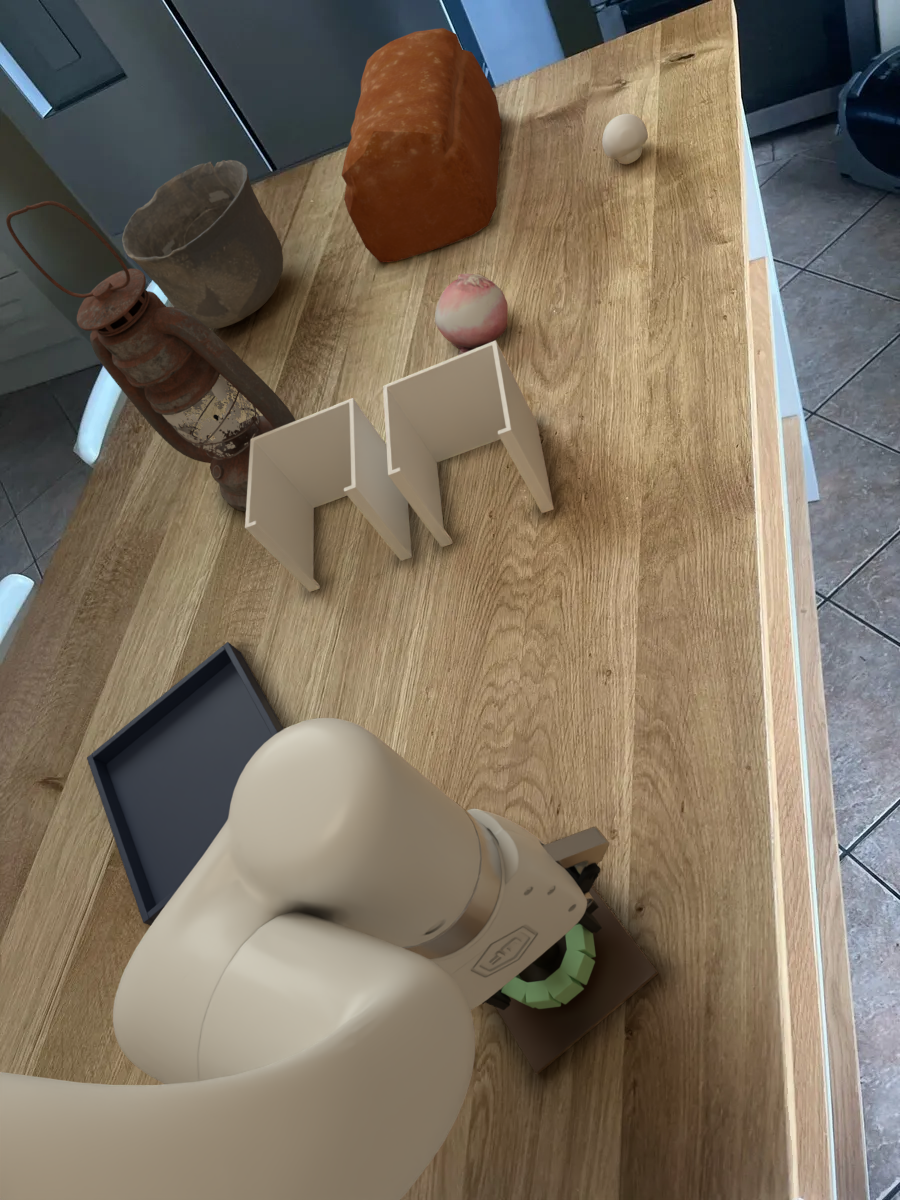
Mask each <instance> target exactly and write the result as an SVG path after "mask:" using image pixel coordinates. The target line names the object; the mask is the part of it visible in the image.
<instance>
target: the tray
mask: <svg viewBox="0 0 900 1200" xmlns="http://www.w3.org/2000/svg"><path fill="white" fill-rule="evenodd" d="M283 729H285V728H284V727H283V725H282V723H281V721H280V720H279V718H278V715H277V714H276V712H275V711H274V709H273V707H272V705H271V703H270V701H269V700H268V698H267V696H266V695H265V693H264V691H263V689H262V687H261V685H260V683H259V681H258V680H257V678H256V676H255V675H254V673H253V671H252V669H251V668H250V666H249V664H248V662H247V660H246V659H245V656H244V655H243V653H242V651H241V650H239V649H238V648H236V647H235V646H234V645H233V644H231V643H230V642H228V641H226V642H225V643H224V644H223V645H222V646H220V647H218V649H216V651H214V652H213V653H212V654H211V655H209V656H208V657H207V658H206V659H205V660H203V661H202V662H201V663H199V664H198V665H197V666H196V667H195V668H193V669H192V670H191V671H190V672H189V673H188V674H186V675H185V676H184V677H182V678H181V679H180V680H179V681H178V682H176V683H175V684H174V685H173V686H172V687H170V688H169V689H168V690H167V691H165V692H164V693H163V694H162V695H161V696H159V698H157V699H156V700H155V701H153V703H151V704H150V705H149V706H147V707H146V708H145V709H144V710H143V711H141V712H140V713H139V714H137V715H136V716H135V717H134V718H133V719H132V720H130V721H129V722H128V723H127V724H125V726H123V727H122V728H121V729H120V730H118V731H117V732H116V733H114V734H113V735H111V737H110V738H108V739H107V740H105V741H104V743H102V744H101V745H100V746H98V748H96V749H95V750H94V751H93V752H91V754H89V755H88V756H87V757H86V760H87V763H88V765H89V769H90V771H91V774H92V777H93V780H94V784H95V786H96V790H97V792H98V795H99V797H100V800H101V804H102V807H103V810H104V812H105V815H106V818H107V821H108V824H109V828H110V830H111V833H112V836H113V838H114V842H115V844H116V845H115V846H116V847H117V850H118V854H119V856H120V859H121V862H122V865H123V868H124V870H125V873H126V874H125V875H126V877H127V879H128V882H129V885H130V888H131V891H132V894H133V897H134V900H135V903H136V906H137V908H138V912H139V915H140V917H141V920H142V924H145V925H147V926H149V927H150V926H151V925H152V923H153V922H154V920H155V919H156V918H157V916H158V915H159V914H160V912H161V911H162V909H163V908H164V907H165V905H166V904H167V903H168V901H169V900H170V899H171V897H172V896H173V895H174V893H175V892H176V891H177V889H178V888H179V887H180V885H181V884H182V883H183V881H184V880H185V879H186V877H187V876H188V875H189V873H190V872H191V871H192V869H193V868H194V867H195V865H196V864H197V863H198V862H199V860H200V859H201V858H202V856H203V855H204V853H205V852H206V850H207V849H208V848H209V846H210V845H211V843H212V842H213V840H214V839H215V837H216V836H217V835H218V833H219V832H220V830H221V829H222V827H223V826H224V824H225V823H226V822H227V820H228V817H229V811H230V804H231V800H232V796H233V792H234V789H235V787H236V784H237V782H238V779H239V777H240V775H241V773H242V771H243V770H244V768H245V766H246V764H247V763H248V762H249V760H250V759H251V758H252V756H253V755H254V754H255V752H256V751H257V750H258V749H259V748H260V747H261V746H262V745H263V744H264V743H265V742H266V741H268V740H269V739H270V738H271V737H273V736H274V735H275V734H277V733H278V732H280V731H282V730H283Z"/></svg>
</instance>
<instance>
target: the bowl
mask: <svg viewBox="0 0 900 1200" xmlns="http://www.w3.org/2000/svg"><path fill="white" fill-rule="evenodd" d="M121 237H122V238H121V241H122V246H123V250H124V252H125V254H126V255H127V256H128V257H129V258H130V259H131V260H132V261H134V262H135V263H136V265H138V266H139V267H140V268H141V269H142V271H144V273H145V274H146V275H147V276H148V277H149V278H150V280H151V281H153V283H154V284H155V285H156V286H157V287H158V288H159V289H160V290H161V292H162V293H163V295H164V296H165V297H166V299H167V300H168V301H169V302H170V304H171V305H172V307H175V308H179V309H182V310H184V311H186V312H188V313H190V314H191V315H193V316H194V317H196V318H197V319H198V320H200V321H201V322H202V323H203V324H205V325H206V326H207V327H208V328H209V329H222V328H225V327H229V326H231V325H235V324H236V323H239V322H241V321H243V320H244V319H245V318H247V317H248V316H250V315H252V314H254V313H255V312H256V311H258V310H260V309H261V308H262V307H263V306H264V305H265V304H266V303H267V302H268V301H269V300H270V298H271V297H272V296H273V294H274V293H275V292H276V289H277V288H278V285H279V282H280V280H281V277H282V274H283V271H284V256H283V247H282V244H281V241H280V239H279V237H278V234H277V232H276V231H275V229H274V226H273V224H272V223H271V220H269V218H268V216H267V215H266V213H265V212H264V210H263V208H262V206H261V204H260V201H259V199H258V197H257V195H256V194H255V191H254V188H253V187H252V184H251V181H250V176H249V172H248V168H247V166H246V165H245V164H243V163H242V162H240V161H239V160H236V159H235V160H232V159H227V160H225V159H222V160H221V161H217V162H216V163H215V165H213V163H212V161H208V162H207V163H200V164H196V165H194V166H193V167H190V168H188V169H186V170H185V171H183V172H180V173H179V174H177V175H175V176H173V177H172V178H171V179H169V180H168V181H166V182H165V183H163V184H162V185H161V186H159V187H158V188H157V189H156V190H155V192H154V194H153V196H152V198H151V199H150V200H149V201H148V202H147V203H145V204H144V205H142V207H138V208H137V209H136V210H135V212H133V214H132V215H131V216H130V218H129V220H128V221H127V223H126V225H125V227H124V229H123V233H122V236H121Z"/></svg>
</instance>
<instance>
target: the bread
mask: <svg viewBox="0 0 900 1200" xmlns="http://www.w3.org/2000/svg"><path fill="white" fill-rule="evenodd" d="M459 39H460V38H459V37H458V34H457V33H455V32H454V31H451V30H449V29H447V28H444V27H439V28H433V29H426V30H418V31H413V32H411V33H408V34H406V35H403V36H401V37H399V38H396V39H394V40H391V41H389V42H388V43H386V44H385V45H382V47H380V48H379V49H377V50H376V51H375V52H373V53H372V55H371V56H370V57H368V59H367V60H366V64H365V67H364V70H363V73H362V77H361V79H360V97H359V99H358V102H357V106H356V109H355V111H354V119H353V121H352V124H351V128H350V136H351V139H350V141H349V143H348V145H347V148H346V152H345V157H344V160H343V165H342V171H341V177H342V179H343V181H344V183H345V190H344V198H343V200H344V204H345V207H346V209H347V213H348V215H349V217H350V219H351V222H352V223H353V225H354V227H355V229H356V231H357V233H358V235H359V237H360V239H361V241H362V243H363V245H364V247H365V249H367V251H368V252H369V253H370V254H371V255H372V257H374V258H375V259H376V260H377V261H378V262H379V263H393V262H399V261H403V260H405V259H408V258H412V257H415V256H416V257H417V256H419V255H422V254H425V253H428V252H431V251H434V250H437V249H441V248H443V247H447V246H449V245H453V244H454V243H457V242H460V241H462V240H464V239H466V238H469V237H472V236H474V235H475V234H477V233H479V232H480V231H482V230H483V229H485V228H486V227H488V226H489V225H490V222H491V221H492V218H493V216H494V214H495V211H496V209H497V207H498V183H499V172H500V171H499V170H500V156H501V155H500V153H501V139H502V119H501V113H500V110H499V104H498V99H497V95H496V93H495V91H494V89H493V87H492V85H491V83H490V82H489V80H488V77H487V75H486V74H485V72H484V70H483V69H482V66H481V65H480V63H479V61H478V60H477V58H476V56H475V55H474V53H473V52H472V51H469V50H466V49H463V47H462V44H461V42H460V40H459Z"/></svg>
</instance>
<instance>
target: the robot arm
mask: <svg viewBox="0 0 900 1200" xmlns="http://www.w3.org/2000/svg"><path fill="white" fill-rule="evenodd" d="M609 847H610V841H609V839H607V837H606V836H605V835H604V834H603V832H602V831H601V830H600V829H599V828H598V826H596V825H595V826H592V827H589V828H586V829H583V830H581V831H578V832H575V833H573V834H570V835H568V836H565V837H562V838H559V839H556V840H553V841H551V842H548V843H545V842H544V841H543V840H542V839H540V838H539V837H538V836H537V835H535V834H534V833H533V832H531V831H530V830H528V829H527V828H525V827H523V826H522V825H521V824H519V823H517V822H515V821H513V820H511V819H509V818H507V817H504V816H502V815H500V814H498V813H494V812H491V811H488V810H484V809H479V808H470V809H468V810H466V809H465V808H464V807H463V806H461V805H460V804H459V803H458V802H456V801H455V800H454V799H452V797H450V796H449V795H448V794H446V793H445V792H444V791H443V790H442V789H441V788H440V787H439V786H438V785H436V784H435V783H434V782H432V780H430V779H429V778H428V777H426V776H425V775H424V774H423V773H422V772H421V771H419V769H417V768H416V767H414V766H413V765H412V764H411V763H410V762H409V761H407V760H406V759H405V758H404V757H403V756H402V755H400V754H399V753H398V752H397V751H396V750H394V749H393V748H392V746H390V745H389V744H387V743H386V742H385V741H384V740H382V739H381V737H379V736H377V735H376V734H374V733H373V732H372V731H370V730H369V729H367V728H366V727H364V726H363V725H360V724H358V723H356V722H353V721H350V720H346V719H342V718H338V717H315V718H310V719H304V720H302V721H300V722H297V723H294V724H291V725H289V726H286V727H285V728H284V729H283V730H282V731H280V732H278V733H277V734H275V735H274V736H273V737H271V738H270V739H269V740H268V741H266V742H265V743H264V744H263V745H262V746H261V747H260V748H259V749H258V750H257V751H256V752H255V754H254V755H253V756H252V758H251V759H250V760H249V762H248V763H247V764H246V766H245V768H244V770H243V771H242V773H241V775H240V777H239V779H238V782H237V784H236V787H235V789H234V792H233V796H232V800H231V804H230V811H229V817H228V820H227V822H226V823H225V824H224V826H223V827H222V829H221V830H220V832H219V833H218V835H217V836H216V837H215V839H214V840H213V842H212V843H211V845H210V846H209V848H208V849H207V850H206V852H205V853H204V855H203V856H202V858H201V859H200V860H199V862H198V863H197V864H196V865H195V867H194V868H193V869H192V871H191V872H190V873H189V875H188V876H187V877H186V879H185V880H184V881H183V883H182V884H181V885H180V887H179V888H178V889H177V891H176V892H175V893H174V895H173V896H172V897H171V899H170V900H169V901H168V903H167V904H166V905H165V907H164V908H163V909H162V911H161V912H160V914H159V915H158V916H157V918H156V919H155V920H154V922H153V923H152V925H151V926H150V925H149V927H148V929H147V930H146V931H145V933H144V935H143V936H142V938H141V939H140V941H139V942H138V944H137V945H136V947H135V949H134V951H133V953H132V955H131V956H130V958H129V960H128V963H127V964H126V966H125V968H124V970H123V972H122V975H121V977H120V981H119V983H118V986H117V989H116V993H115V995H114V996H115V997H114V1001H113V1008H112V1026H113V1031H114V1036H115V1038H116V1042H117V1044H118V1046H119V1049H120V1050H121V1052H122V1053H123V1054H124V1056H125V1057H126V1058H127V1060H128V1061H129V1062H130V1063H131V1064H133V1065H134V1066H135V1067H136V1068H138V1069H139V1070H140V1071H142V1072H143V1073H144V1074H146V1075H147V1076H149V1077H151V1078H152V1079H154V1080H155V1081H158V1082H160V1083H161V1084H107V1083H95V1082H94V1083H93V1082H80V1081H72V1080H64V1079H57V1078H51V1077H50V1078H49V1077H44V1076H43V1077H42V1076H35V1075H28V1074H21V1073H12V1072H5V1071H0V1200H402V1199H403V1198H404V1196H405V1195H407V1193H408V1192H409V1191H410V1189H411V1188H412V1187H413V1186H414V1185H415V1183H416V1182H417V1181H418V1179H419V1178H420V1177H421V1175H422V1174H423V1173H424V1171H426V1169H427V1168H428V1166H429V1165H430V1164H431V1162H432V1161H433V1160H434V1159H435V1157H436V1155H437V1153H438V1152H439V1151H440V1149H441V1147H442V1146H443V1145H444V1143H445V1141H446V1140H447V1138H448V1136H449V1134H450V1133H451V1131H452V1128H453V1126H454V1125H455V1123H456V1121H457V1120H458V1117H459V1114H460V1113H461V1110H462V1107H463V1105H464V1102H465V1100H466V1097H467V1094H468V1091H469V1087H470V1084H471V1082H472V1081H471V1080H472V1077H473V1073H474V1072H473V1071H474V1064H475V1058H476V1030H475V1024H474V1019H473V1018H474V1017H473V1013H472V1010H474V1009H476V1008H477V1007H479V1006H480V1005H484V1004H488V1005H490V1006H491V1007H495V1008H496V1007H497V1008H499V1009H501V1010H505V1009H506V1008H507V1007H508V1006H510V1002H511V999H510V998H509V996H507V995H505V994H503V993H502V992H501V991H502V990H500V989H501V988H502V987H503V986H505V985H506V984H507V983H508V982H509V981H511V980H512V979H513V978H514V977H516V976H517V975H518V974H519V973H520V972H522V971H523V970H524V969H525V968H526V967H528V966H529V965H530V964H531V963H532V962H534V961H535V960H536V959H537V958H538V957H540V956H541V955H542V954H543V953H544V952H545V951H547V950H548V949H549V948H550V947H551V946H552V945H554V944H555V943H556V942H557V941H558V940H559V939H561V938H562V937H563V936H564V935H565V934H566V933H567V932H569V931H570V930H571V929H572V928H573V927H574V926H575V925H576V924H577V923H579V924H581V925H582V926H583V927H584V928H586V929H587V930H588V931H590V932H591V933H593V932H595V933H597V932H598V931H599V930H600V929H602V927H601V925H600V924H599V923H598V921H597V920H596V919H595V917H594V916H593V915H592V913H593V912H594V911H595V910H596V909H597V908H599V906H598V905H597V903H596V902H595V901H594V899H593V898H592V896H591V895H590V894H589V891H590V889H591V887H592V886H594V884H595V882H596V880H597V878H598V877H599V874H600V873H601V868H600V866H599V863H600V862H602V861H603V860H604V858H605V855H606V853H607V850H608V848H609Z"/></svg>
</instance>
